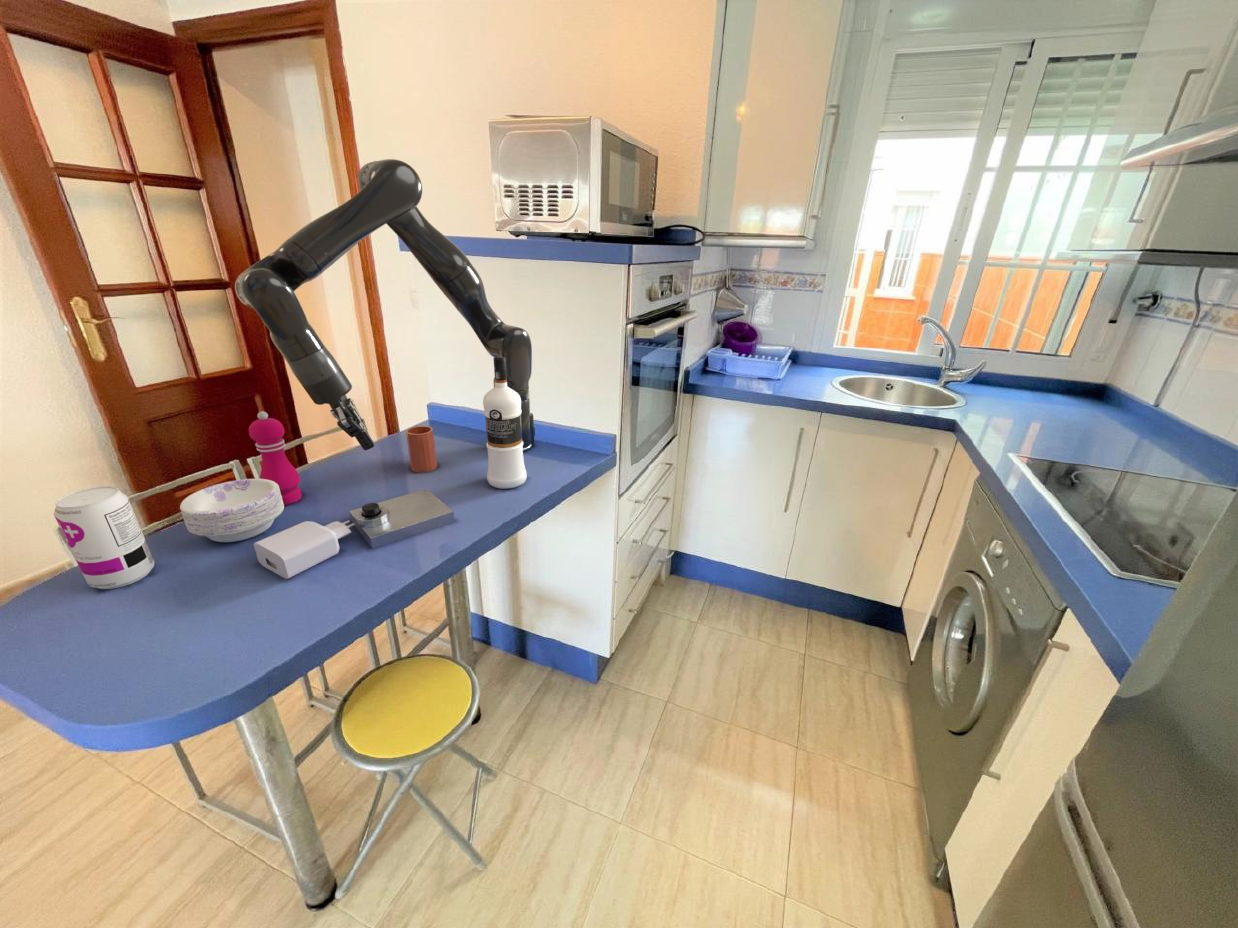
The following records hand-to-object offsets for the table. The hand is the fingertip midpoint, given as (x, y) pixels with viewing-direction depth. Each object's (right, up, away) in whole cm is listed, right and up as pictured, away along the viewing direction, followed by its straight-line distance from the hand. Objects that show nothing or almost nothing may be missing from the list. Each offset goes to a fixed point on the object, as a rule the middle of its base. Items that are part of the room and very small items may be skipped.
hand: (369, 447), depth 105 cm
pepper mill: (-20, -11, +4) cm, 23 cm away
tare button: (+4, -13, -8) cm, 16 cm away
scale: (+8, -15, -3) cm, 18 cm away
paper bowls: (-21, -17, -8) cm, 28 cm away
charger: (-3, -20, -14) cm, 24 cm away
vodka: (+26, -8, +15) cm, 31 cm away
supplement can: (-30, -22, -22) cm, 43 cm away
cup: (+3, -4, +21) cm, 22 cm away
